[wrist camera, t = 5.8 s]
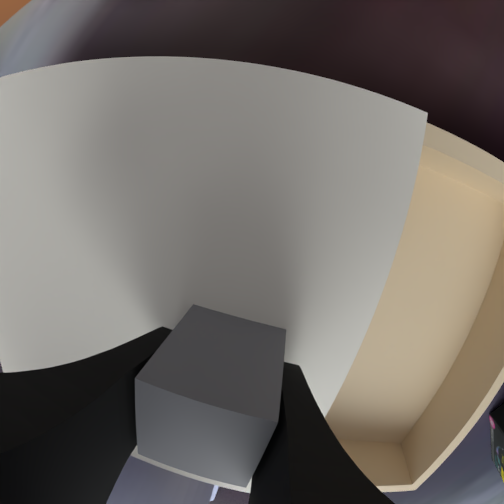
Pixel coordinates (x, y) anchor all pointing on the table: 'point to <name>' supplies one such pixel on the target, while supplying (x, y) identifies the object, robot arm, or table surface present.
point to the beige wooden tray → (431, 323)
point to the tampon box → (497, 438)
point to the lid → (199, 237)
